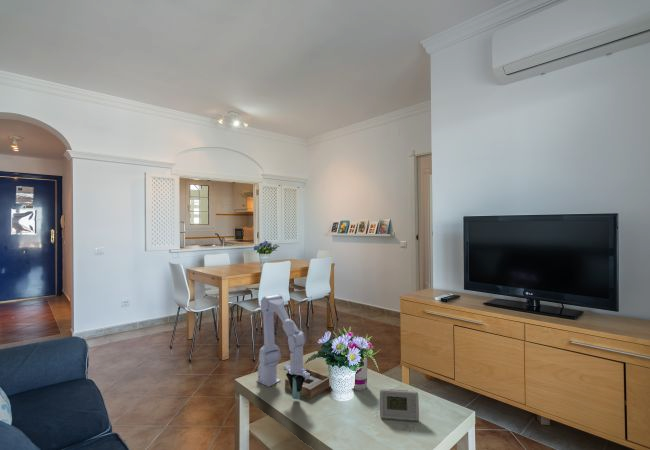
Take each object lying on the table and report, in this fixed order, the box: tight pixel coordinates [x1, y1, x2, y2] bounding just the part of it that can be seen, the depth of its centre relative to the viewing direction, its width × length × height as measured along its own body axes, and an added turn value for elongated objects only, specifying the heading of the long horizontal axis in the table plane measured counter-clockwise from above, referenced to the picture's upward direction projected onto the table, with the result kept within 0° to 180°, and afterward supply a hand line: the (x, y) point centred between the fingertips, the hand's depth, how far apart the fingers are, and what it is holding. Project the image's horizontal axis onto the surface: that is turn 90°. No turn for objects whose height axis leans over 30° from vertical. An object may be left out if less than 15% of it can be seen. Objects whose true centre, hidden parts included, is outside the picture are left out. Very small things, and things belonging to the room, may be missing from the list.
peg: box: [291, 376, 301, 400], centre depth 153 cm, size 3×3×9 cm
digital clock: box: [379, 388, 420, 422], centre depth 141 cm, size 16×9×11 cm, turn 72°
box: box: [284, 367, 330, 400], centre depth 165 cm, size 16×16×4 cm
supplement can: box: [353, 357, 368, 391], centre depth 166 cm, size 8×8×15 cm
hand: (296, 389), depth 153 cm, fingers closed on peg, 3 cm apart
